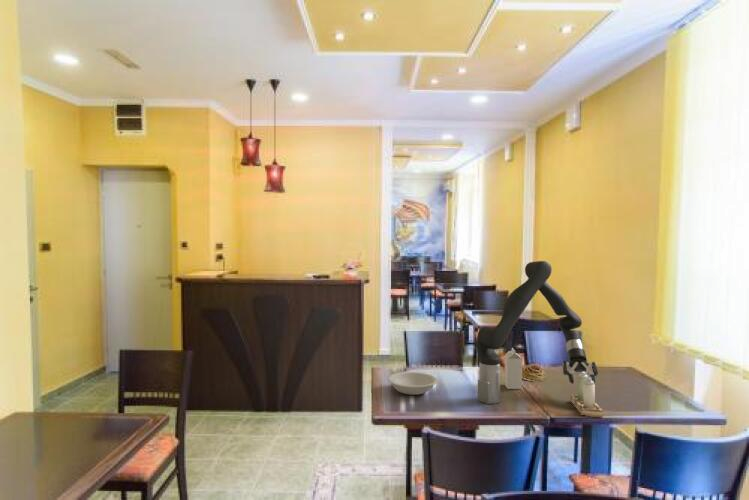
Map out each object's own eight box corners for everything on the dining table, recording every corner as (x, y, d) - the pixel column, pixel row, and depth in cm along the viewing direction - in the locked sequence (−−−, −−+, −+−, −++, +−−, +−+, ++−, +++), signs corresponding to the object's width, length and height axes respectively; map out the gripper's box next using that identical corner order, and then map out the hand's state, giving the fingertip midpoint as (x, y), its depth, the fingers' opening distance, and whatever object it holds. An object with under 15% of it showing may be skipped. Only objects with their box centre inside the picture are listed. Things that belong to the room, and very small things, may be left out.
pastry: (531, 383, 231) (531, 367, 231) (513, 375, 245) (513, 360, 245) (552, 380, 235) (552, 365, 235) (533, 373, 249) (534, 358, 249)
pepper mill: (585, 402, 196) (585, 373, 196) (575, 399, 199) (575, 371, 199) (590, 400, 198) (590, 371, 198) (580, 398, 202) (581, 369, 202)
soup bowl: (435, 403, 201) (436, 388, 201) (383, 399, 206) (383, 384, 206) (439, 386, 225) (439, 373, 225) (391, 383, 230) (392, 370, 230)
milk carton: (518, 385, 227) (519, 347, 227) (522, 389, 220) (522, 351, 220) (504, 384, 228) (504, 347, 228) (507, 389, 221) (507, 350, 220)
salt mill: (591, 410, 187) (591, 379, 187) (581, 406, 191) (581, 376, 190) (596, 407, 190) (596, 377, 189) (586, 404, 193) (586, 375, 193)
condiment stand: (602, 417, 185) (602, 410, 185) (582, 416, 186) (582, 408, 186) (589, 402, 203) (589, 395, 203) (570, 401, 204) (570, 394, 204)
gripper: (561, 346, 209) (567, 378, 198) (593, 347, 206) (602, 380, 195) (558, 355, 214) (564, 386, 203) (590, 356, 212) (598, 388, 201)
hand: (582, 383), depth 199 cm, fingers open, 8 cm apart
